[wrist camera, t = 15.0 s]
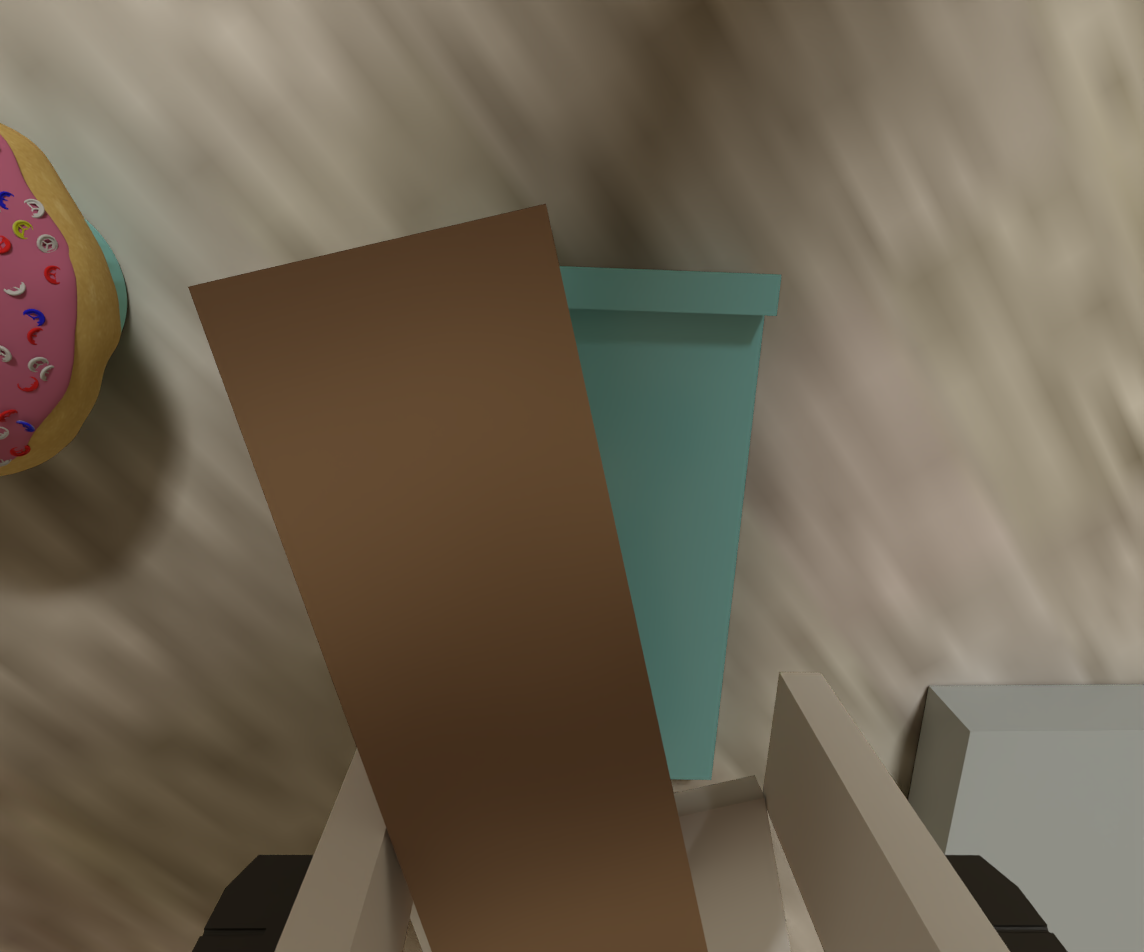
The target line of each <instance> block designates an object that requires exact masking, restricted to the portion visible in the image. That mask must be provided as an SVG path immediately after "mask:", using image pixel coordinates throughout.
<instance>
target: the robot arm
mask: <svg viewBox="0 0 1144 952" xmlns="http://www.w3.org/2000/svg"><path fill="white" fill-rule="evenodd" d="M763 795H764V798H765V803H766V809H767V811H768V813H769V816H770V818H771V821H772V823H773V826H774V828H775V831H776V833H777V836H778V838H779V841H780V843H781V846H782V848H783V850H784V853H785V855H786V858H787V860H788V863H789V865H790V868H791V870H792V873H793V875H794V878H795V880H796V883H797V885H798V888H799V890H800V892H801V895H802V897H803V900H804V902H805V905H806V907H807V910H808V912H809V915H810V917H811V920H812V922H813V925H814V927H815V930H816V932H817V934H818V937H819V939H820V942H821V944H822V947H823V949H824V952H1068V951H1067V950H1066V949H1065V947H1064V946H1063V945H1062V944H1061V942H1060V941H1059V940H1058V938H1057V937H1056V936H1055V934H1054V933H1050V932H1049V931H1048V928H1047V924H1046V923H1045V921H1044V920H1043V919H1042V917H1041V916H1040V915H1039V913H1038V912H1037V911H1036V910H1035V908H1034V907H1033V906H1032V904H1031V903H1030V902H1029V900H1028V899H1027V898H1026V896H1025V895H1024V894H1023V892H1022V891H1021V890H1020V889H1019V887H1018V886H1016V885H1015V884H1014V883H1013V882H1012V881H1010V880H1009V879H1008V878H1007V877H1006V876H1004V875H1003V874H1002V873H1001V872H999V871H998V870H997V869H996V868H995V867H993V866H992V865H991V864H990V863H989V862H987V861H986V860H985V859H984V858H982V857H981V856H980V855H944V853H943V852H942V851H941V849H940V848H939V846H938V845H937V843H936V842H935V840H934V839H933V837H932V836H931V834H930V833H929V831H928V830H927V828H926V827H925V825H924V824H923V823H922V821H921V820H920V818H919V817H918V815H917V814H916V812H915V811H914V809H913V808H912V806H911V805H910V803H909V802H908V800H907V799H906V797H905V796H904V795H903V793H902V792H901V790H900V789H899V787H898V786H897V784H896V783H895V781H894V780H893V778H892V777H891V775H890V774H889V772H888V771H887V769H886V768H885V767H884V765H883V764H882V762H881V761H880V759H879V758H878V756H877V755H876V753H875V752H874V750H873V749H872V747H871V746H870V744H869V743H868V741H867V740H866V739H865V737H864V736H863V734H862V733H861V731H860V730H859V728H858V727H857V725H856V724H855V722H854V721H853V719H852V718H851V716H850V715H849V713H848V712H847V710H846V709H845V708H844V706H843V705H842V703H841V702H840V700H839V699H838V697H837V696H836V694H835V693H834V691H833V690H832V688H831V687H830V685H829V684H828V682H827V681H826V680H825V678H824V677H823V675H822V674H821V673H806V672H779V679H778V686H777V693H776V700H775V707H774V715H773V722H772V729H771V736H770V743H769V751H768V758H767V765H766V772H765V779H764V787H763ZM412 905H413V899H412V896H411V894H410V891H409V888H408V886H407V883H406V880H405V877H404V875H403V872H402V869H401V866H400V864H399V861H398V858H397V855H396V853H395V850H394V847H393V845H392V842H391V839H390V836H389V834H388V831H387V828H386V825H385V823H384V820H383V817H382V815H381V812H380V809H379V806H378V804H377V801H376V798H375V795H374V793H373V790H372V787H371V785H370V782H369V779H368V776H367V774H366V771H365V768H364V765H363V763H362V760H361V757H360V755H359V752H358V749H356V751H355V754H354V756H353V759H352V761H351V764H350V766H349V769H348V771H347V774H346V776H345V778H344V781H343V783H342V786H341V788H340V791H339V793H338V796H337V798H336V801H335V803H334V806H333V808H332V811H331V813H330V816H329V818H328V821H327V823H326V826H325V828H324V830H323V833H322V835H321V838H320V840H319V843H318V845H317V848H316V850H315V853H314V855H258V856H257V857H256V858H255V859H254V860H253V861H252V862H251V863H250V864H249V865H248V866H247V867H246V868H245V869H244V870H243V871H242V872H241V873H240V874H239V875H238V876H237V877H236V878H235V879H234V880H233V881H232V882H231V883H230V884H229V885H228V886H227V887H226V888H225V890H224V892H223V894H222V896H221V898H220V900H219V901H218V903H217V905H216V907H215V909H214V911H213V913H212V915H211V917H210V919H209V920H208V922H207V924H206V926H205V928H204V934H203V936H200V938H199V939H198V941H197V943H196V945H195V947H194V949H193V951H192V952H403V947H404V942H405V938H406V933H407V928H408V924H409V919H410V914H411V910H412Z"/></svg>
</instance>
